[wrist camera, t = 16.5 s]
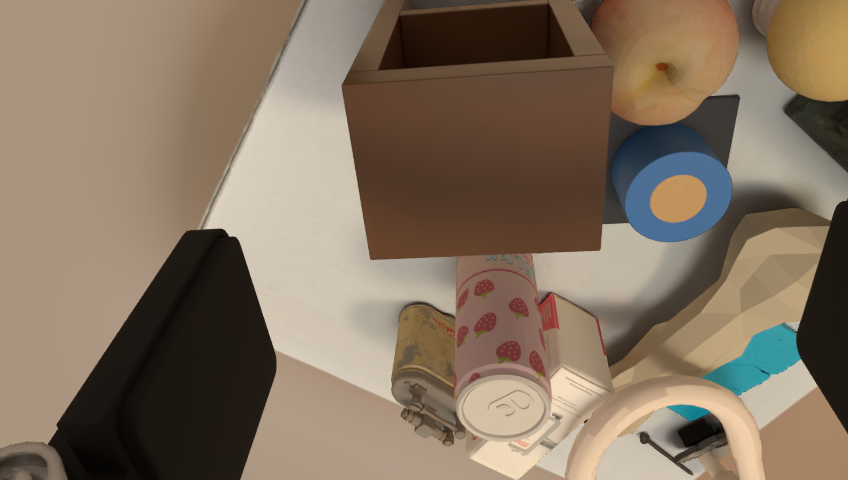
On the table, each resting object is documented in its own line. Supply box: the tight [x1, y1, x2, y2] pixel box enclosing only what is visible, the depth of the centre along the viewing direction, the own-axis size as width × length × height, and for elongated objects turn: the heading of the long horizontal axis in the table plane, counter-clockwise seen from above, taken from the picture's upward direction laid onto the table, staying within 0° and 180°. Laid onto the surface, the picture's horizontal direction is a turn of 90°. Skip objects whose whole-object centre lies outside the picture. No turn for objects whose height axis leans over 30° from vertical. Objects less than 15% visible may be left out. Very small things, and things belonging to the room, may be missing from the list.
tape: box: [611, 123, 732, 242], centre depth 40 cm, size 6×6×5 cm
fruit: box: [590, 0, 739, 125], centre depth 35 cm, size 8×8×8 cm
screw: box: [640, 434, 693, 475], centre depth 58 cm, size 8×1×1 cm, turn 47°
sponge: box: [666, 323, 801, 421], centre depth 52 cm, size 2×12×6 cm
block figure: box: [672, 419, 728, 463], centre depth 55 cm, size 6×2×6 cm
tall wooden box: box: [342, 0, 614, 260], centre depth 32 cm, size 8×10×17 cm
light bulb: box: [752, 0, 848, 102], centre depth 33 cm, size 6×6×10 cm
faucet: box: [565, 375, 766, 480], centre depth 50 cm, size 8×15×24 cm
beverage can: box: [454, 253, 552, 442], centre depth 41 cm, size 6×6×15 cm
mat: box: [602, 95, 740, 224], centre depth 43 cm, size 9×9×1 cm
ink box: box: [466, 293, 614, 480], centre depth 49 cm, size 9×5×12 cm
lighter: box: [391, 304, 466, 446], centre depth 48 cm, size 7×4×10 cm, turn 52°
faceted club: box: [584, 208, 831, 437], centre depth 46 cm, size 9×8×25 cm
